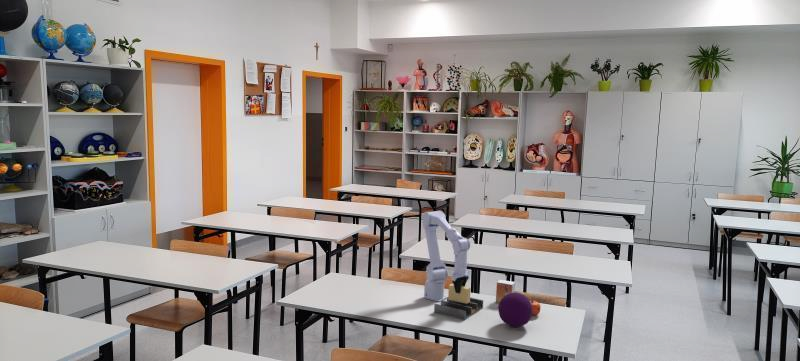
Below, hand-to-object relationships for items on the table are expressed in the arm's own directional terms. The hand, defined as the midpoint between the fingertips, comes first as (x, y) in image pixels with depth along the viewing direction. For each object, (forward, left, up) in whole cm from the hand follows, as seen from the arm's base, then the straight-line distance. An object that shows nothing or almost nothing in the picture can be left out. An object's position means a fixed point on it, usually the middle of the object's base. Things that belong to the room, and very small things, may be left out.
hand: (459, 291), depth 271 cm
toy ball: (+29, -2, -9) cm, 31 cm away
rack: (0, 0, -9) cm, 9 cm away
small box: (+13, +24, -9) cm, 29 cm away
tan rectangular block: (0, 0, -4) cm, 4 cm away
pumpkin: (+30, +16, -9) cm, 35 cm away
